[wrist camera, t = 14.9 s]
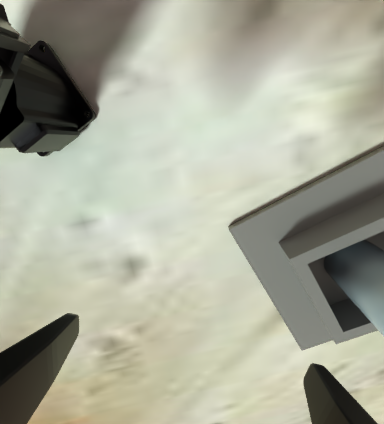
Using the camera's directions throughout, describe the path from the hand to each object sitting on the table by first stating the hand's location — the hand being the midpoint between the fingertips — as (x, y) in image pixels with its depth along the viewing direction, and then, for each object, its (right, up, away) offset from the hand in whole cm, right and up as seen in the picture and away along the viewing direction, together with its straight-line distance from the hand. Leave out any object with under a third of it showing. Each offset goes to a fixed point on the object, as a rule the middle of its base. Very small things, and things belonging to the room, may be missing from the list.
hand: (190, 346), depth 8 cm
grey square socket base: (+14, +1, +12) cm, 19 cm away
